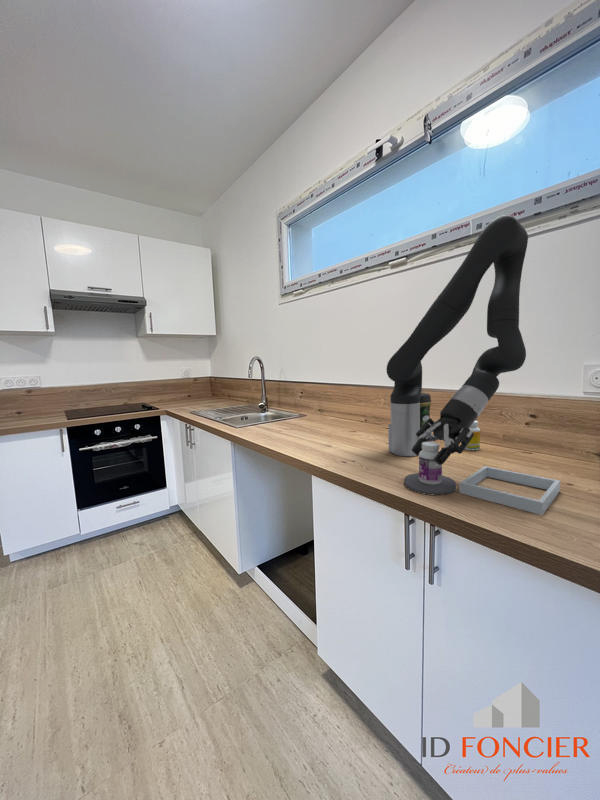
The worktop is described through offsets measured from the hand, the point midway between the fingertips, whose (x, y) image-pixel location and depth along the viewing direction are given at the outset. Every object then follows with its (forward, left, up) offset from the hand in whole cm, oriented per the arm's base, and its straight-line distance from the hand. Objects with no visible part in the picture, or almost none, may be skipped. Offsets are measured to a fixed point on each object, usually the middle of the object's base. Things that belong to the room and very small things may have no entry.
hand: (425, 457), depth 78 cm
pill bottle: (+1, +1, -6) cm, 7 cm away
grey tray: (+16, +9, -7) cm, 19 cm away
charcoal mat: (+1, +1, -7) cm, 7 cm away
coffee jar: (-24, +41, -7) cm, 48 cm away
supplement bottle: (-4, +40, -7) cm, 41 cm away
